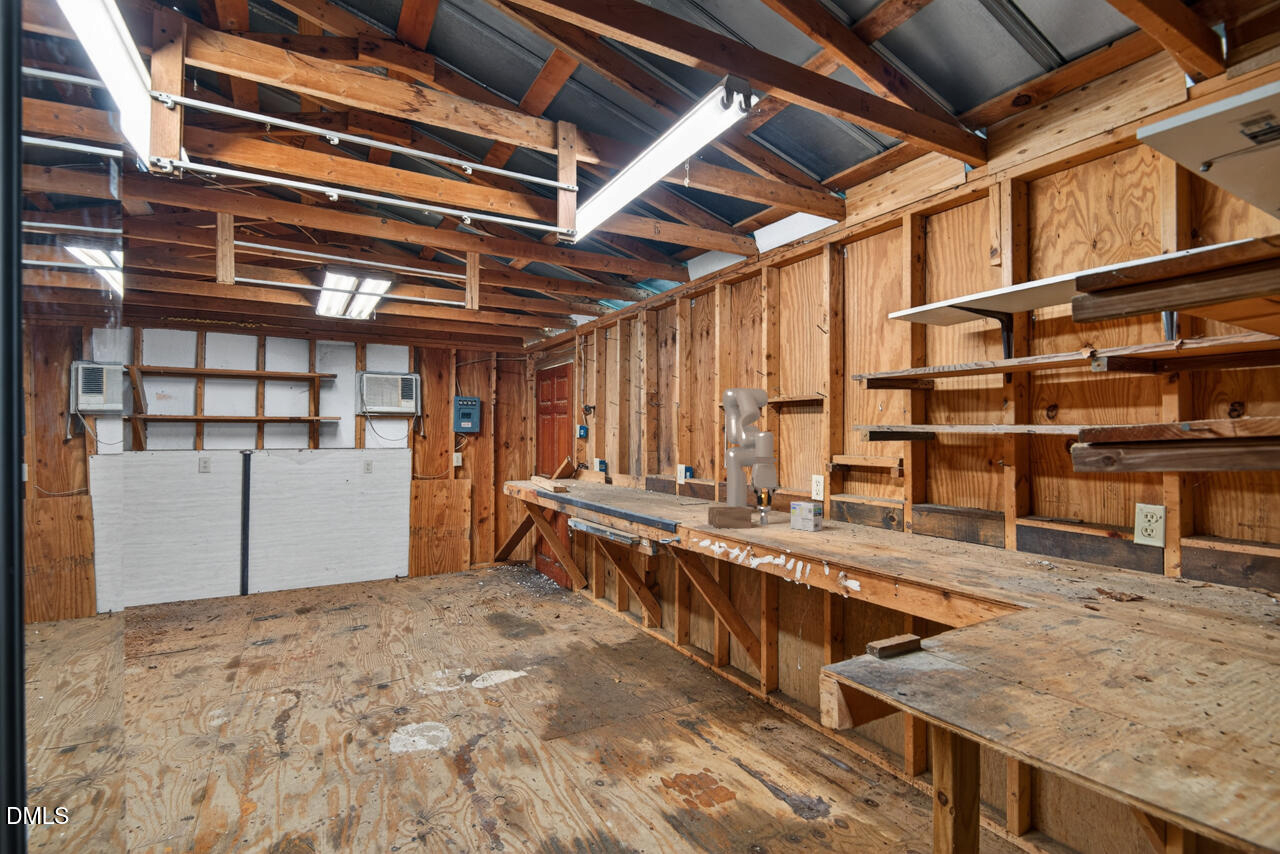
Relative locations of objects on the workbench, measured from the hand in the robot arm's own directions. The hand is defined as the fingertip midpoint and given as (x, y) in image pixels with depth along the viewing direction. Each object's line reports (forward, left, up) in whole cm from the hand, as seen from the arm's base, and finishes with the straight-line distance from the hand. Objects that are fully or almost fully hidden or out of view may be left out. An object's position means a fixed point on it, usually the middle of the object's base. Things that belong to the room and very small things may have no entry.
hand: (764, 504), depth 249 cm
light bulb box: (+15, +12, -9) cm, 21 cm away
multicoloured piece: (0, 0, -8) cm, 8 cm away
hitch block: (+3, -16, -8) cm, 18 cm away
